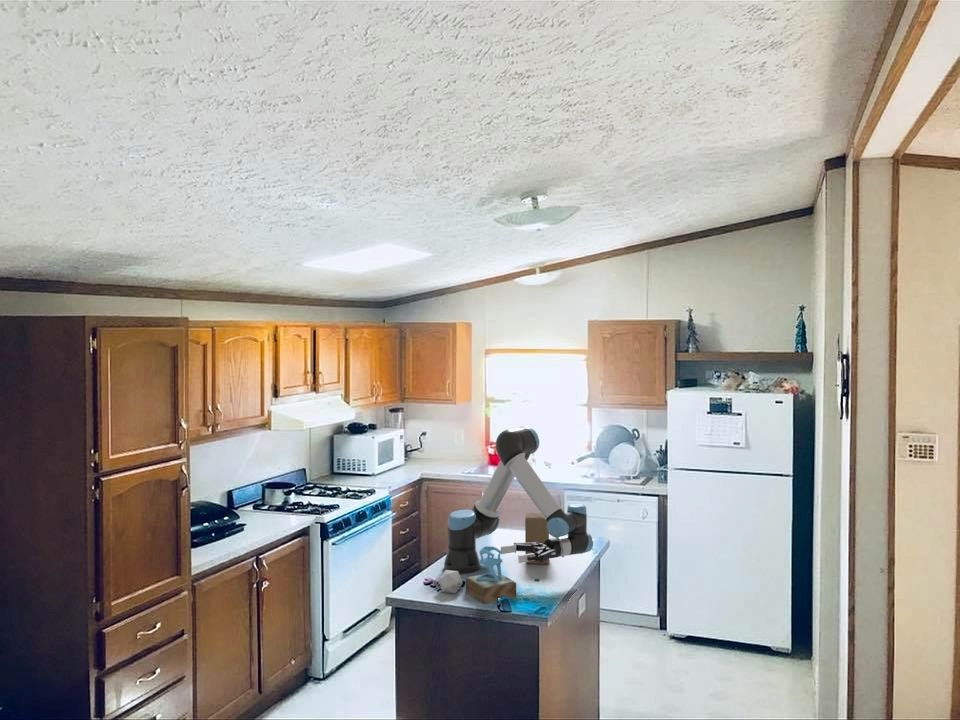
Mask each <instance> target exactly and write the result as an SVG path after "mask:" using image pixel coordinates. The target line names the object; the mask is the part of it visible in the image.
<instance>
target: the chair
mask: <svg viewBox="0 0 960 720" xmlns="http://www.w3.org/2000/svg"><path fill="white" fill-rule="evenodd" d="M491 551H496V552H498V555H497V558H495V557H494V556H495V554H494V553H492V552H491ZM484 554H485V555H487V557H485V558H484V556H483V555H484ZM479 555H480V559H479V564H480V565H484V566H486V567H487V568H488V569H489V570H490V572H485V573H483V574H480V575H481V576H479V577H477V578H476V579H477V580H480V581H494V582H499V580H502V575H503V574H502V570H501V569H502V567H501V564H502V563H503V559H502V558H501V555H502V554H501V549H498V548H497V547H495V546H484V547H482V548H481V549H480V550H479ZM490 556H491V557H490ZM494 566H496V568H497V570H496V571H497V572H498V576H497V575H496V574H495V569H494ZM491 573H492V574H491ZM487 575H488V576H491V577H493V578H483V577H485V576H487ZM498 579H499V580H498Z"/></svg>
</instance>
